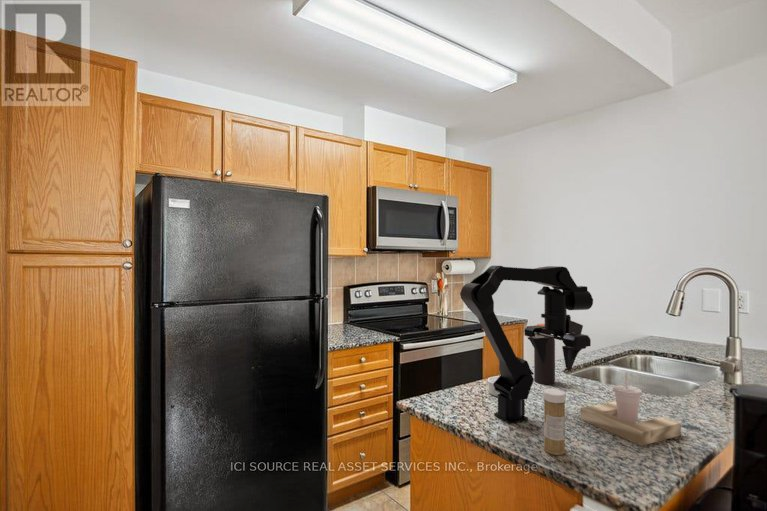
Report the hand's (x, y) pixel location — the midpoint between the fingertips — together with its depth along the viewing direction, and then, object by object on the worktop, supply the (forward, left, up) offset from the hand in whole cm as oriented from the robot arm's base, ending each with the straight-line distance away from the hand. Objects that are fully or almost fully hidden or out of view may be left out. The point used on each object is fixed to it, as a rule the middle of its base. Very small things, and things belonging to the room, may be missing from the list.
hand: (555, 366), depth 113 cm
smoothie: (+10, -14, -13) cm, 22 cm away
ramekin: (-3, +19, -13) cm, 23 cm away
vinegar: (+19, +23, -13) cm, 33 cm away
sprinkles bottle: (-18, -17, -13) cm, 28 cm away
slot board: (+10, -14, -13) cm, 22 cm away
